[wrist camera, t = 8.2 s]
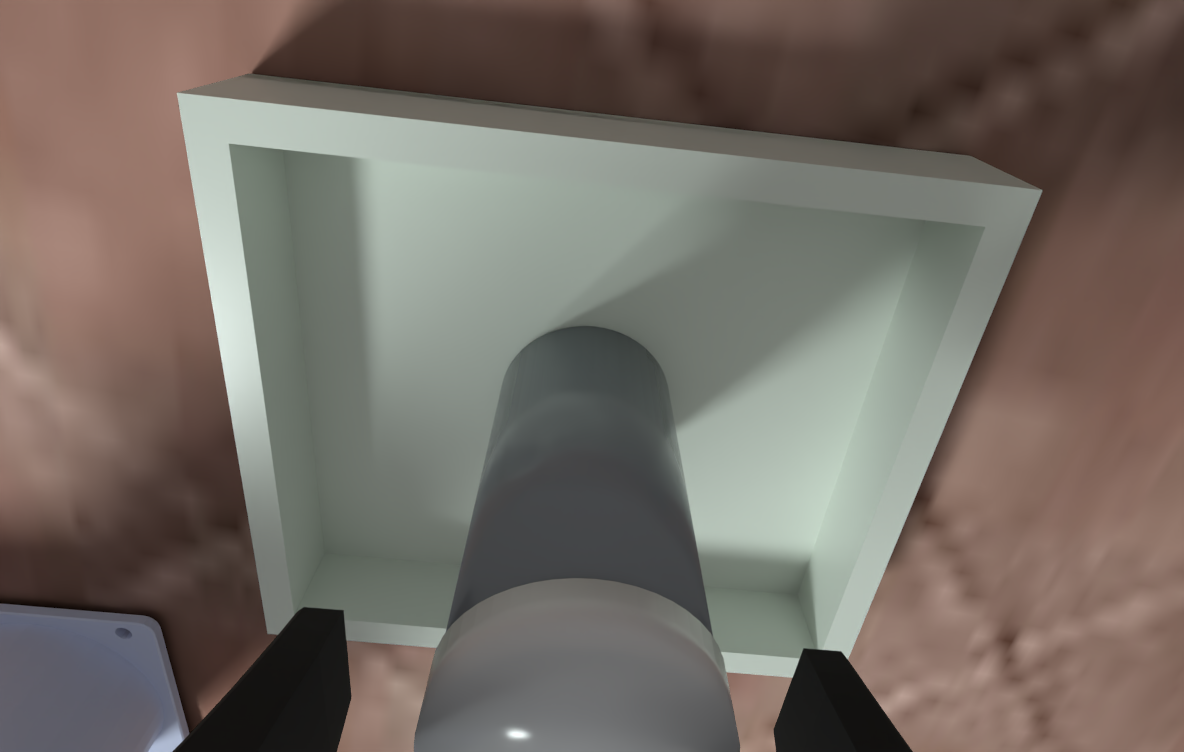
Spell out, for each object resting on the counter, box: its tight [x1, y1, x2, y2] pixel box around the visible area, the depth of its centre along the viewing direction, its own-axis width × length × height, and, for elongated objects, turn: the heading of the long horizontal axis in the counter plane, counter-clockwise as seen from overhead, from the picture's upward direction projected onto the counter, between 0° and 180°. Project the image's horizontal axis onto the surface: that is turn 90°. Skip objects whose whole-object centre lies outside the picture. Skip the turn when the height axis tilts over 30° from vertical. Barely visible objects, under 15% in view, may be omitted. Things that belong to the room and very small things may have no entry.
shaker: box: [414, 326, 740, 752], centre depth 14 cm, size 5×5×10 cm
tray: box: [177, 74, 1043, 678], centre depth 18 cm, size 16×14×3 cm
